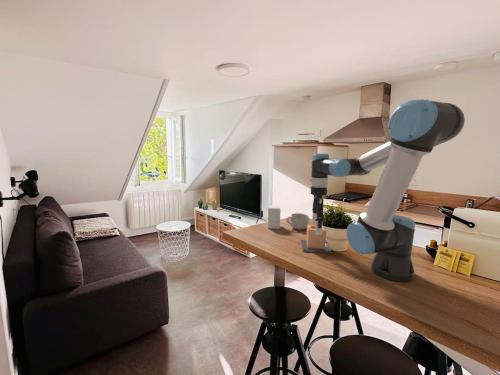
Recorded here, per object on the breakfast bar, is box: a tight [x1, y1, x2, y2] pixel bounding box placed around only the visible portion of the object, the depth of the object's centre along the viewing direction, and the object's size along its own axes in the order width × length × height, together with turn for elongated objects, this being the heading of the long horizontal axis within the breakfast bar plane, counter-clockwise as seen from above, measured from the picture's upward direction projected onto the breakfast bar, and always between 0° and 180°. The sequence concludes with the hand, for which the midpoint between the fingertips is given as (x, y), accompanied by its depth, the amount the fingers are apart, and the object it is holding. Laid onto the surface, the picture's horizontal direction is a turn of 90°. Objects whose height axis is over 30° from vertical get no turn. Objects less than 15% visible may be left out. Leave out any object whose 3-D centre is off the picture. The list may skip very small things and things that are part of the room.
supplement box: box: [267, 205, 281, 230], centre depth 155 cm, size 7×7×13 cm
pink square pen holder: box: [305, 224, 327, 249], centre depth 124 cm, size 8×8×9 cm
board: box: [300, 239, 332, 254], centre depth 125 cm, size 12×13×7 cm
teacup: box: [285, 212, 310, 231], centre depth 154 cm, size 14×11×8 cm
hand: (316, 229), depth 124 cm, fingers open, 13 cm apart
